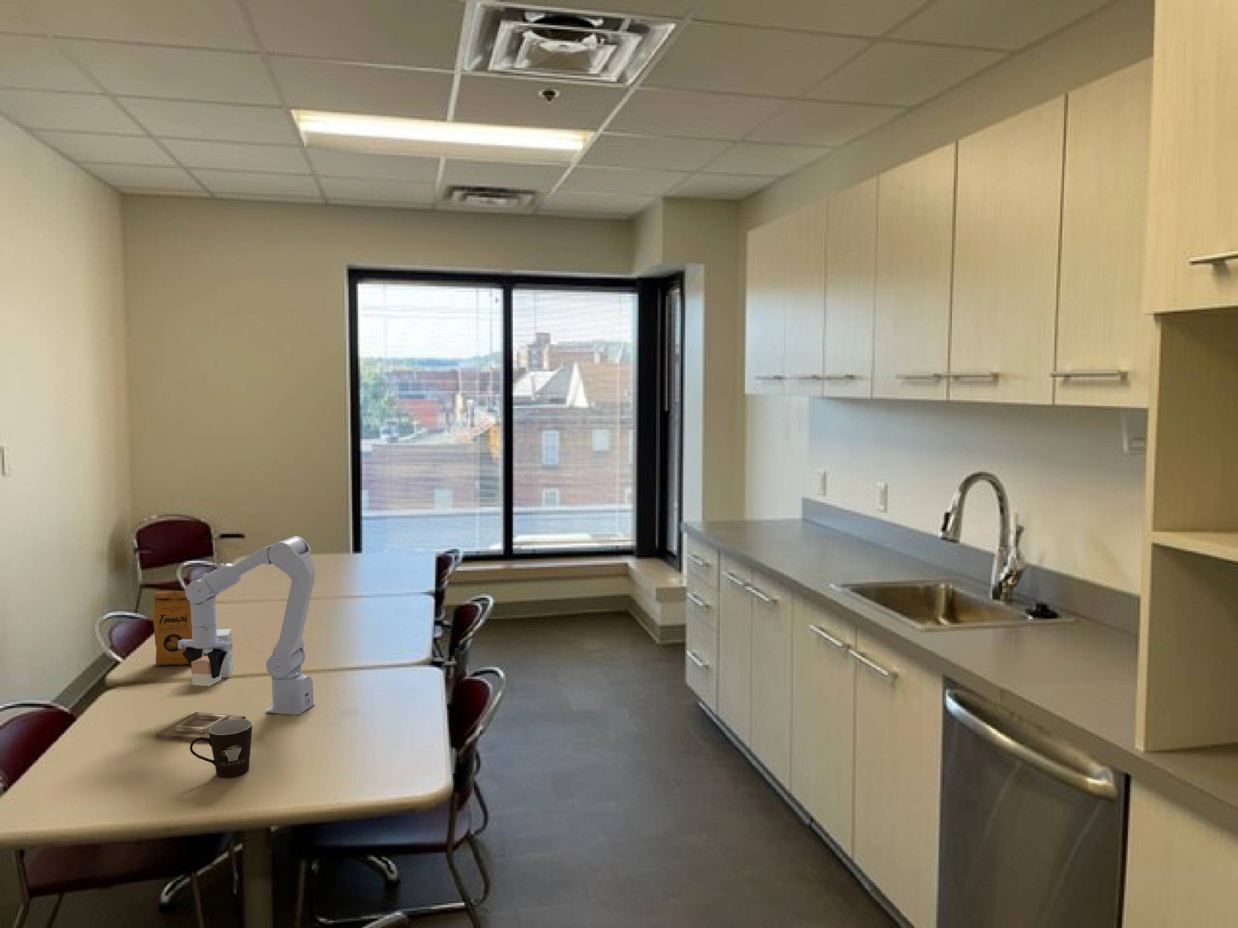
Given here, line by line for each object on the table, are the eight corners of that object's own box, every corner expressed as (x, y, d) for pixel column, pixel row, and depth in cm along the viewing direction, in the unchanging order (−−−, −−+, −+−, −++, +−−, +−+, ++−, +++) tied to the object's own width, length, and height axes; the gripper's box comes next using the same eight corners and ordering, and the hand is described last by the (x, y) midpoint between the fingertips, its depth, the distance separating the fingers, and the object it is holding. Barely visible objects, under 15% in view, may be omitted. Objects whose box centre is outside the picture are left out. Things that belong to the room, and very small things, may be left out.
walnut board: (245, 719, 216) (245, 712, 216) (208, 742, 203) (207, 734, 202) (195, 715, 219) (195, 708, 219) (155, 737, 205) (155, 729, 205)
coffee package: (195, 666, 258) (191, 594, 256) (150, 668, 256) (146, 595, 254) (206, 656, 268) (203, 586, 266) (164, 658, 266) (160, 587, 264)
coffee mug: (260, 762, 192) (258, 718, 191) (245, 780, 183) (243, 734, 182) (207, 763, 191) (204, 719, 190) (189, 781, 183) (186, 735, 182)
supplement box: (201, 680, 246) (199, 636, 245) (206, 672, 253) (204, 629, 252) (229, 677, 248) (227, 634, 247) (234, 669, 255) (232, 627, 254)
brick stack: (221, 679, 226) (220, 657, 226) (209, 685, 222) (207, 662, 221) (204, 678, 227) (203, 656, 227) (192, 684, 223) (191, 661, 222)
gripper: (239, 621, 226) (241, 672, 227) (189, 619, 229) (192, 669, 230) (221, 629, 219) (224, 681, 220) (170, 626, 222) (173, 678, 223)
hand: (206, 676), depth 224 cm, fingers closed on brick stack, 5 cm apart
